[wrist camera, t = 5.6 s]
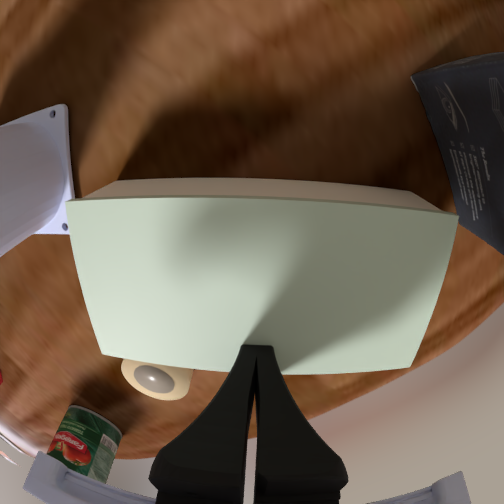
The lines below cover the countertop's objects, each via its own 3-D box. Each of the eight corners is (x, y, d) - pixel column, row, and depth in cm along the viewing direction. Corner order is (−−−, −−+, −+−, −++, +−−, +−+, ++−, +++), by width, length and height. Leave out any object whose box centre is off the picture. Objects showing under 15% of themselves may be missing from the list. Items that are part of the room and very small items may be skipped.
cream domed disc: (140, 372, 21) (131, 394, 19) (125, 327, 19) (112, 350, 17) (198, 380, 21) (192, 405, 19) (190, 335, 19) (182, 361, 16)
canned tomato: (103, 439, 30) (81, 499, 20) (60, 407, 27) (30, 469, 17) (134, 437, 27) (112, 509, 17) (84, 401, 25) (50, 476, 15)
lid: (105, 348, 13) (102, 353, 13) (71, 198, 10) (65, 201, 10) (406, 360, 13) (409, 367, 12) (452, 212, 10) (459, 215, 9)
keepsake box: (136, 302, 18) (111, 342, 14) (116, 180, 14) (75, 201, 10) (381, 312, 17) (401, 354, 13) (410, 191, 14) (448, 215, 10)
